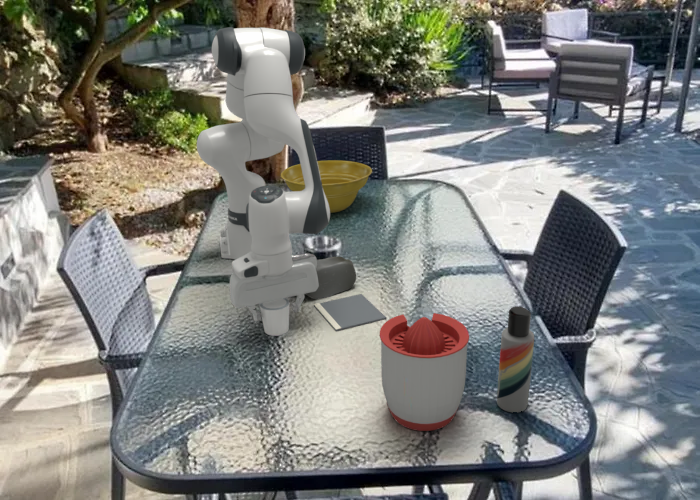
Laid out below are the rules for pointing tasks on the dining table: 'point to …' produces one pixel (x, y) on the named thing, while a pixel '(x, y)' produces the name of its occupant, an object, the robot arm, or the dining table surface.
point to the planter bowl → (333, 181)
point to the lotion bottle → (515, 361)
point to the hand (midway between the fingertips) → (277, 315)
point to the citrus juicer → (423, 370)
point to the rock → (333, 277)
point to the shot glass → (275, 316)
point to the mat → (349, 312)
